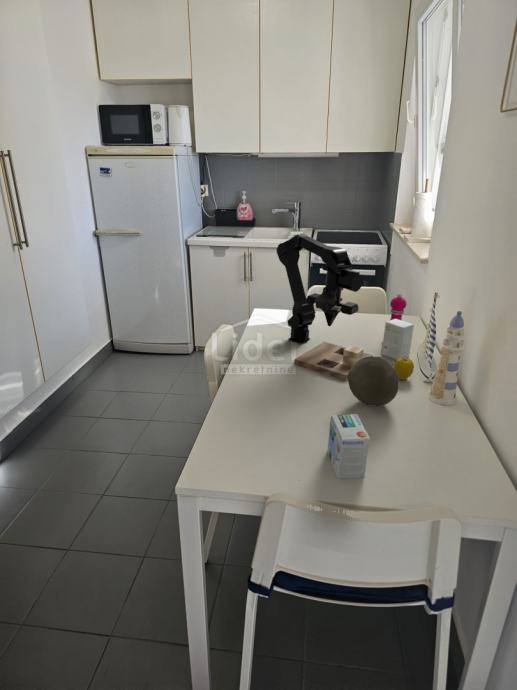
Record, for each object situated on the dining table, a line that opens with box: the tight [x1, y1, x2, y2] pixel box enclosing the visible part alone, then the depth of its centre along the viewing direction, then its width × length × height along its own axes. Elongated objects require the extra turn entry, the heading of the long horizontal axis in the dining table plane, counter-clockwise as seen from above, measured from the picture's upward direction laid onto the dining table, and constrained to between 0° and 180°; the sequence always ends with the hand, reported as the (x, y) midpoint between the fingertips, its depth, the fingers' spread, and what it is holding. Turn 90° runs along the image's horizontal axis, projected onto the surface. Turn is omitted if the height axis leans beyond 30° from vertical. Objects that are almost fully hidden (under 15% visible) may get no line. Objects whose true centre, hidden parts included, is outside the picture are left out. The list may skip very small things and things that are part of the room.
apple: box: [392, 357, 415, 380], centre depth 149 cm, size 6×6×8 cm
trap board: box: [294, 341, 374, 381], centre depth 161 cm, size 20×21×2 cm
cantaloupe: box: [347, 356, 400, 407], centre depth 131 cm, size 14×14×15 cm
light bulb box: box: [326, 413, 371, 479], centre depth 106 cm, size 11×7×11 cm, turn 5°
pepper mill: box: [389, 293, 407, 321], centre depth 177 cm, size 7×7×20 cm
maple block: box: [342, 345, 364, 366], centre depth 156 cm, size 5×5×5 cm
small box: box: [381, 319, 415, 361], centre depth 166 cm, size 8×6×13 cm
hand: (329, 325), depth 165 cm, fingers closed
